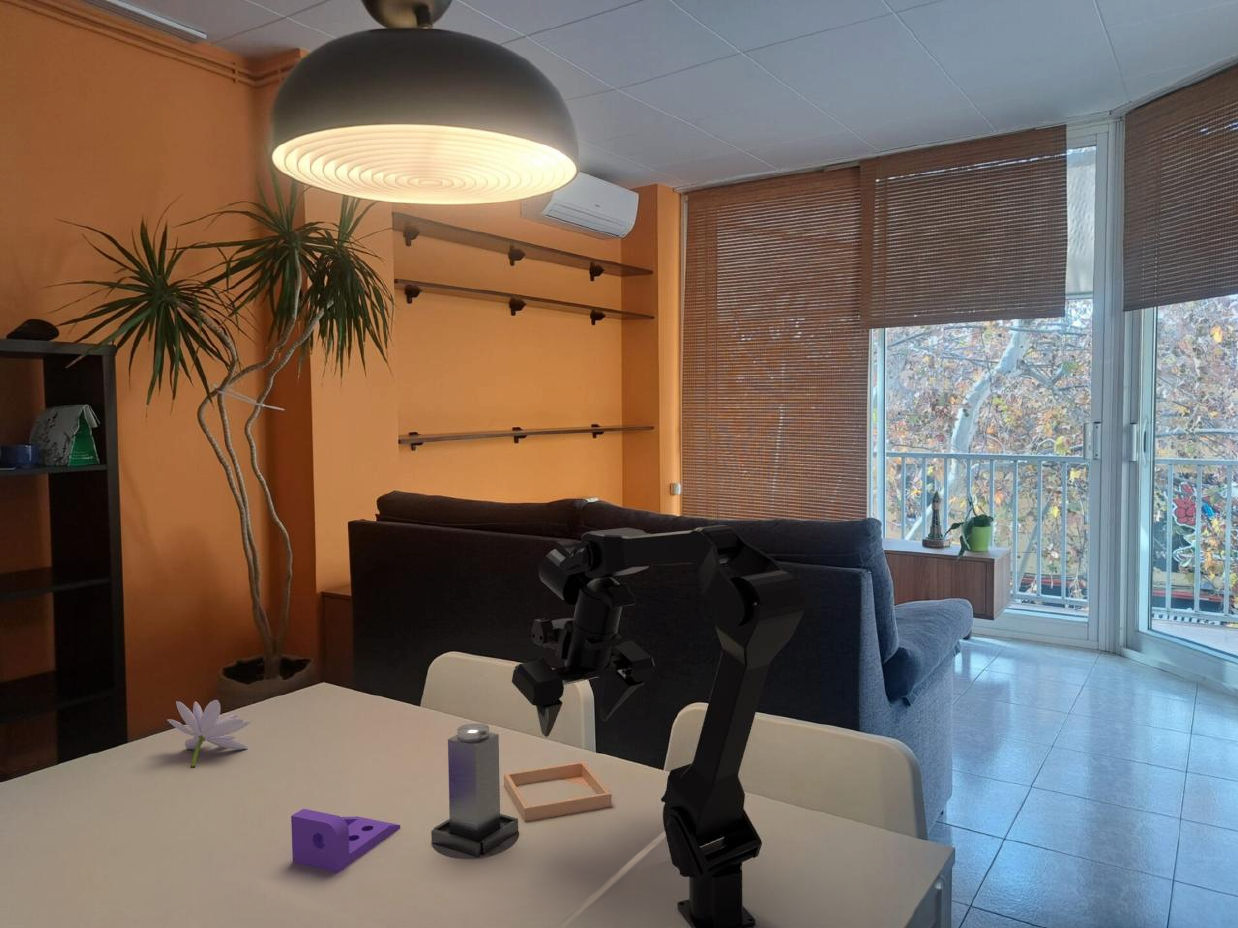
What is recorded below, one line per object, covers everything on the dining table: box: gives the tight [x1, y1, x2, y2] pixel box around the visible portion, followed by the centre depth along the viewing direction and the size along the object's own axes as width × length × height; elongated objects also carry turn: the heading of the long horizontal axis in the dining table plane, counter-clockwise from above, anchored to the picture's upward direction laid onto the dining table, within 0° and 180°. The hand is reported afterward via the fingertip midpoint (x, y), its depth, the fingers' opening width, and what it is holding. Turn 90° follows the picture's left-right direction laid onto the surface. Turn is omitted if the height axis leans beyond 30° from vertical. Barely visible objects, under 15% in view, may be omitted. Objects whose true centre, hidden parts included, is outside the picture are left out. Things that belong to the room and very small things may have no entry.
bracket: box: [290, 808, 401, 873], centre depth 110 cm, size 12×7×7 cm, turn 158°
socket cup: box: [430, 813, 520, 860], centre depth 112 cm, size 11×11×2 cm
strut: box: [447, 722, 501, 843], centre depth 111 cm, size 4×4×14 cm
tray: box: [503, 760, 612, 822], centre depth 124 cm, size 12×12×2 cm
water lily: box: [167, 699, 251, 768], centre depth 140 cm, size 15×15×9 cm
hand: (574, 726), depth 115 cm, fingers open, 9 cm apart
